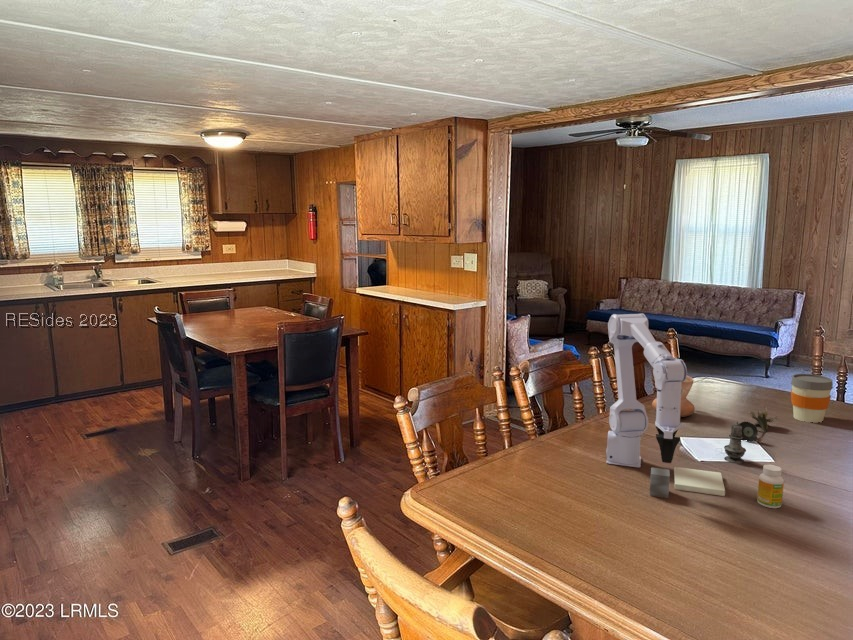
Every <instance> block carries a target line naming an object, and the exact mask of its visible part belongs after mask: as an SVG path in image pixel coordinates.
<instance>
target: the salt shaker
mask: <svg viewBox="0 0 853 640" xmlns="http://www.w3.org/2000/svg"><path fill="white" fill-rule="evenodd" d="M739 424H740V423H739V421H736V422H735V423H734V424H732V425H731V427H730V434H729V435H728V436H729V443H728V444H726V445H724V446H723V449H724V452H725V454H726V456H724V457H723V458H724V460H725V461H727V462H728V463H732V464H744V462H745V460H744V459H743V458H742V457H744V455H745V453H746V452H747V449H746V448H745V447H743V445H742V441H741V440H742V438H743V437H742V426H741V425H739Z"/></svg>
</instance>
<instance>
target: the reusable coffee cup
mask: <svg viewBox="0 0 853 640" xmlns="http://www.w3.org/2000/svg"><path fill="white" fill-rule="evenodd" d="M790 384H791V390H790V396H791V397H790V400H791V404H792V411H793V418H794V419H795V420H798V421H801V422H804V421H805V422H804V423H810V422H813V423H812V424H818V422H820V423H823V422H822V421H824V418H825V414H826V410H827V409H828V408H829V405H830V402H831V396H832V395H831V391H832V390H834V389H833V388H834V387H833V379H832V378H830V377H827V376H824V375H819V374H812V373H795V374H793V375H792V376H791V380H790Z"/></svg>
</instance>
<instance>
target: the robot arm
mask: <svg viewBox="0 0 853 640" xmlns="http://www.w3.org/2000/svg"><path fill="white" fill-rule="evenodd" d="M607 329H608V331H607V333H608V338H609V339H608V340H609V343H611V344H613V350H614V351H613V352H614V359H615V360H614V362H615V372H616V375H615V376H616V383H617V396H618V397H617V398H618V400H616V402H614V403H613V404H612V405H611V406H610V407H609V419H608V421H609V422H608V423H609V427H610V429H611V430H608V432H607V440H606V443H607V444H606V451H605V455H606V462H605V463H606V464H610V465H617V466H624V467H632V468H641V464H642V456H641V454H640V453H641V436H642V435H644V432H645V431H647V429H648V427H649V417H648V414H647V411H646V407H645V405H644V404H643V403H641V402H640V401H639V400H637V391H636V382H635V369H634V368H635V367H634V358H633V348H632V347H633V345H634V344H635V343H639V344H640V345H641V346H642V347H641V348H643V356H644V358H645V359H646V360H647V361H648V363H649V364H650V366H651V368H652V373H653V378H654V387H655V389H656V398H657V408H656V411H655V422H654V425H655V428H656V431H657V434H656V433H655V438H656V441H657V442H658V446H659V450H660V456H661V461H662V462H661V463H665V464H672V461H673V458H674V455H675V452H676V451H675V450H676V448H677V445H678V444H679V443H680V442H681V437H679V436H678V437H677V436H676V435H677V433H678V430H679V429H681V428H683V429H685V427H686V425H685V423H684V422H681V417H680V408H681V384H682V382H684V381H685V379H686V377H687V376H688V369H687V366H686V363H685V362H684V360H683V359H681V358H676V357H674V356H673V354H672V353H671V352H670V350H668V349H667V347H666V346H665V344H664V343H663V342H661V341H657V340H656V339H655V338H654V336H653V334H652V333H651V331H650V329H649V319H648V317H647V316H646V315H645V313H643V312H642V313H641V312H640V313H629V314H626V313H624V314H616V313H613V314H611V316H610V317H609V320H608V322H607Z"/></svg>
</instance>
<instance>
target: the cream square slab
mask: <svg viewBox="0 0 853 640" xmlns="http://www.w3.org/2000/svg"><path fill="white" fill-rule="evenodd" d="M673 478H674V480H673V481H674V490H678V491H686V492H692V493H699V494H700V493H701V494H707V495H713V496H722V497H725V495H726V488H725V485H724V481H723V480H724V479H723V476H722V472H720V471H719V472H717V471H710V470H704V469H703V470H702V469H694V468H687V467H681V466H679V467H678V466H674V467H673Z"/></svg>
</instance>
